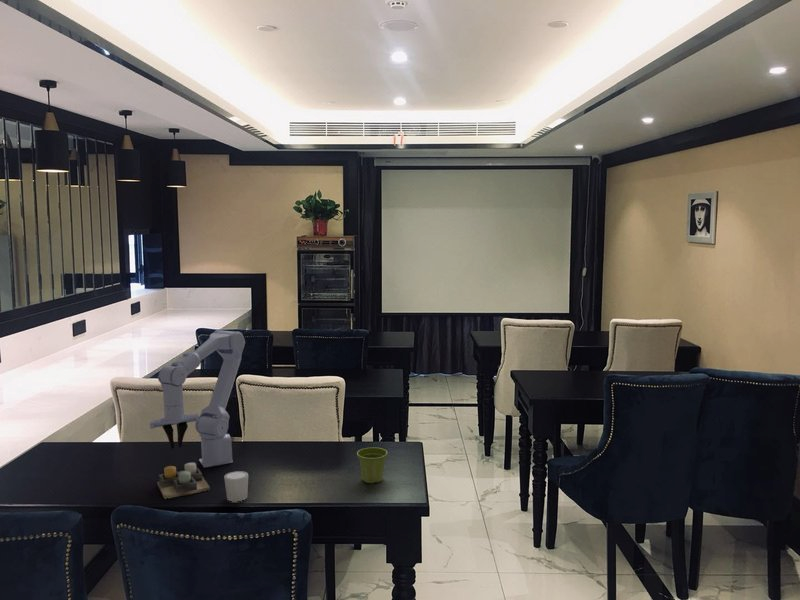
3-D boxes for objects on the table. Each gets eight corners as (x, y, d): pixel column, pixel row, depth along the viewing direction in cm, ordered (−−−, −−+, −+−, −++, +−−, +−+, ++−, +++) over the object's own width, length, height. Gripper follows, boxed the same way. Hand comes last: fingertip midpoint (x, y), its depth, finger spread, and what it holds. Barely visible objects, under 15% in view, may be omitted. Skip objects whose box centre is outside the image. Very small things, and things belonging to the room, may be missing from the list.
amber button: (175, 474, 211) (174, 465, 211) (177, 478, 208) (176, 468, 208) (163, 476, 210) (163, 467, 209) (165, 480, 207) (165, 470, 206)
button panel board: (200, 476, 216) (200, 467, 216) (209, 490, 205) (209, 480, 205) (157, 484, 210) (156, 475, 210) (164, 499, 199) (163, 489, 199)
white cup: (227, 494, 202) (226, 471, 202) (250, 493, 203) (249, 470, 202) (223, 503, 196) (222, 480, 195) (247, 502, 196) (246, 479, 195)
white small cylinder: (195, 471, 214) (194, 461, 214) (197, 474, 211) (197, 465, 211) (184, 473, 212) (183, 463, 212) (186, 476, 210) (185, 467, 209)
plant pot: (392, 476, 215) (391, 449, 214) (381, 487, 206) (381, 459, 205) (364, 472, 218) (363, 446, 217) (352, 483, 209) (351, 456, 208)
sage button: (189, 479, 207) (189, 470, 207) (192, 483, 204) (191, 473, 204) (178, 482, 205) (177, 472, 205) (180, 486, 202) (179, 476, 202)
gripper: (194, 398, 220) (196, 439, 221) (146, 404, 212) (149, 447, 214) (199, 403, 214) (202, 445, 215) (150, 410, 206) (153, 454, 208)
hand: (176, 447), depth 214 cm, fingers closed
